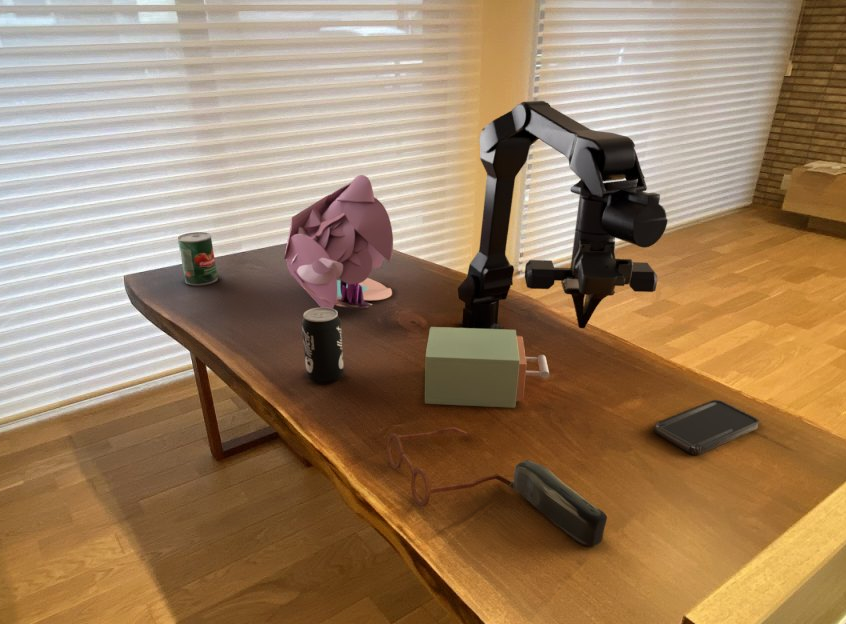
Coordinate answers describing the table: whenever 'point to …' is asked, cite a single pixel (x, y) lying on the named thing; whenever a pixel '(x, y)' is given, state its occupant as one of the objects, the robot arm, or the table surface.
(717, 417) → the phone
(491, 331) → the cabinet
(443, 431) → the glasses
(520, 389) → the drawer
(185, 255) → the canned tomato
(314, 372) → the beverage can
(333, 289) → the flower arrangement
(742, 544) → the table surface
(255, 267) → the table surface
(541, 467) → the dark grey long block
